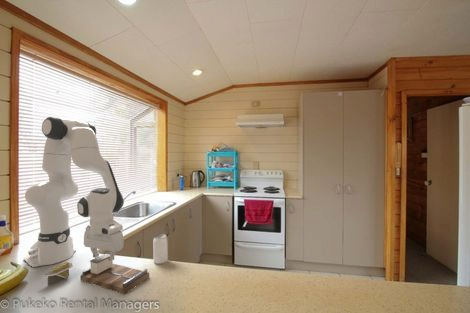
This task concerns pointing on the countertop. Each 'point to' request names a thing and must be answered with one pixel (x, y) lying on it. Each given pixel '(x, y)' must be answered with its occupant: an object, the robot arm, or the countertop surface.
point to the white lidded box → (100, 264)
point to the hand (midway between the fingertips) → (103, 258)
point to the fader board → (116, 278)
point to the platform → (58, 272)
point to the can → (160, 249)
